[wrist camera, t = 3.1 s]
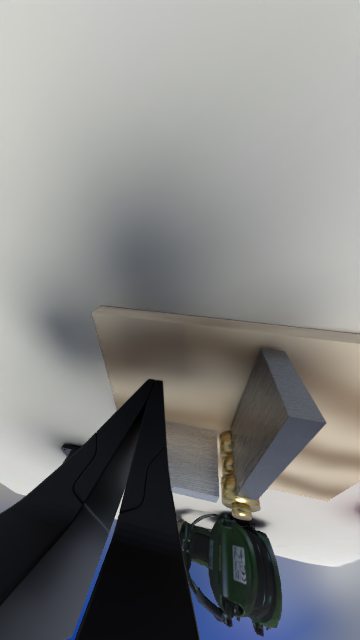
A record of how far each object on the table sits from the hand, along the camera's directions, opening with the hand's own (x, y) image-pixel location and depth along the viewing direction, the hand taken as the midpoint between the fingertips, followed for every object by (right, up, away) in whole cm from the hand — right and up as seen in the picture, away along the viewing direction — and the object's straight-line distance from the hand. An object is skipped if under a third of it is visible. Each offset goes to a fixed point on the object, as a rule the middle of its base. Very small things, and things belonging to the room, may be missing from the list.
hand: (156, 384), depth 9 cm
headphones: (+9, -35, +22) cm, 42 cm away
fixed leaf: (+2, -6, +6) cm, 8 cm away
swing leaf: (+6, -3, +2) cm, 7 cm away
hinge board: (+7, -5, +5) cm, 10 cm away
